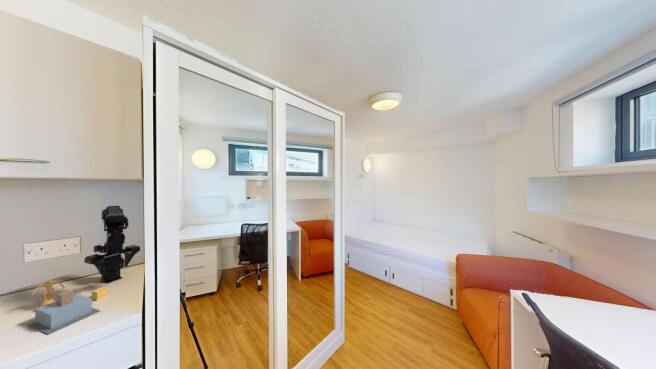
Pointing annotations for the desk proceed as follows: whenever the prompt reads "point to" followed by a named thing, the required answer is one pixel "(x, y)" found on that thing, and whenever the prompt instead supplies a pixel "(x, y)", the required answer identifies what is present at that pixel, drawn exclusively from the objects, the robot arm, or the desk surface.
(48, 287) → the figurine
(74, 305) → the cover
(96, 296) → the cube
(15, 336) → the desk surface
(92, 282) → the desk surface
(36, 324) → the mat
